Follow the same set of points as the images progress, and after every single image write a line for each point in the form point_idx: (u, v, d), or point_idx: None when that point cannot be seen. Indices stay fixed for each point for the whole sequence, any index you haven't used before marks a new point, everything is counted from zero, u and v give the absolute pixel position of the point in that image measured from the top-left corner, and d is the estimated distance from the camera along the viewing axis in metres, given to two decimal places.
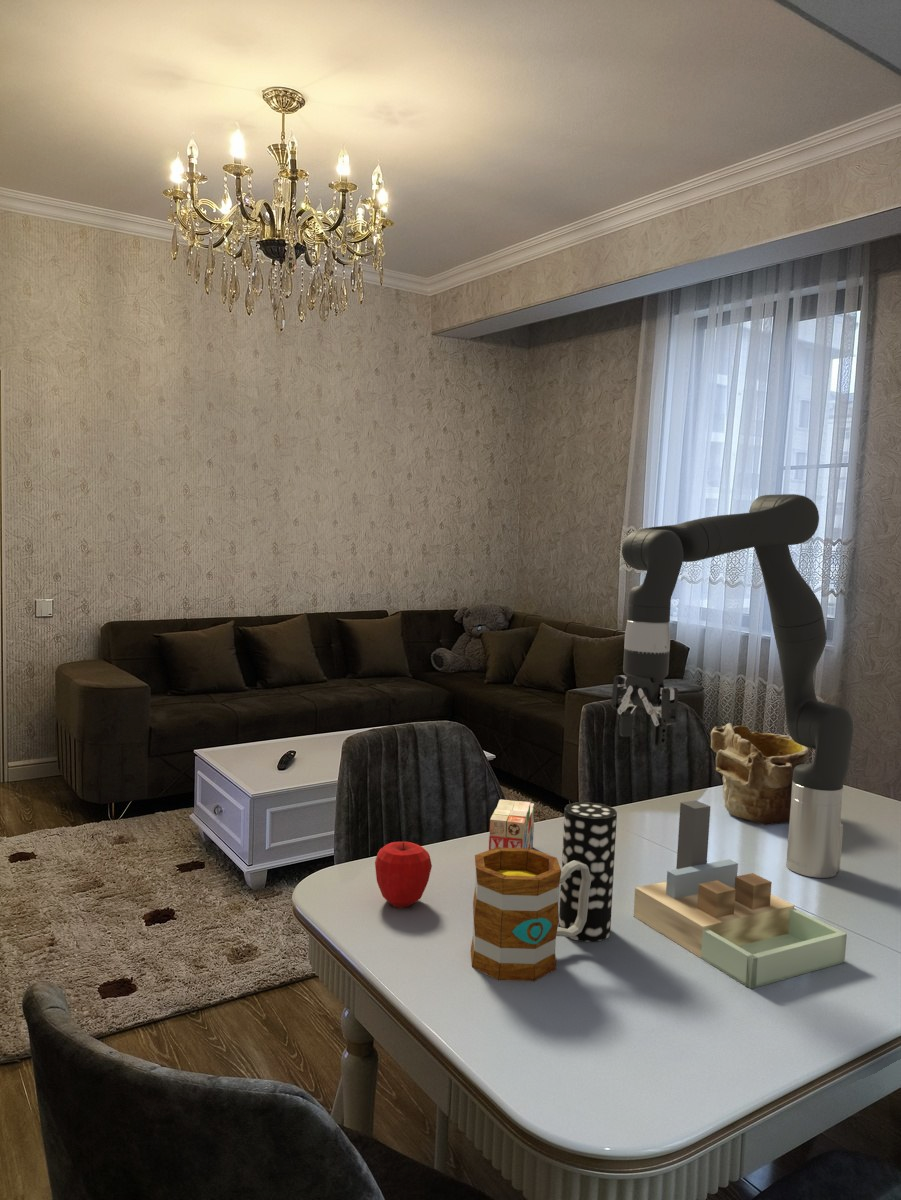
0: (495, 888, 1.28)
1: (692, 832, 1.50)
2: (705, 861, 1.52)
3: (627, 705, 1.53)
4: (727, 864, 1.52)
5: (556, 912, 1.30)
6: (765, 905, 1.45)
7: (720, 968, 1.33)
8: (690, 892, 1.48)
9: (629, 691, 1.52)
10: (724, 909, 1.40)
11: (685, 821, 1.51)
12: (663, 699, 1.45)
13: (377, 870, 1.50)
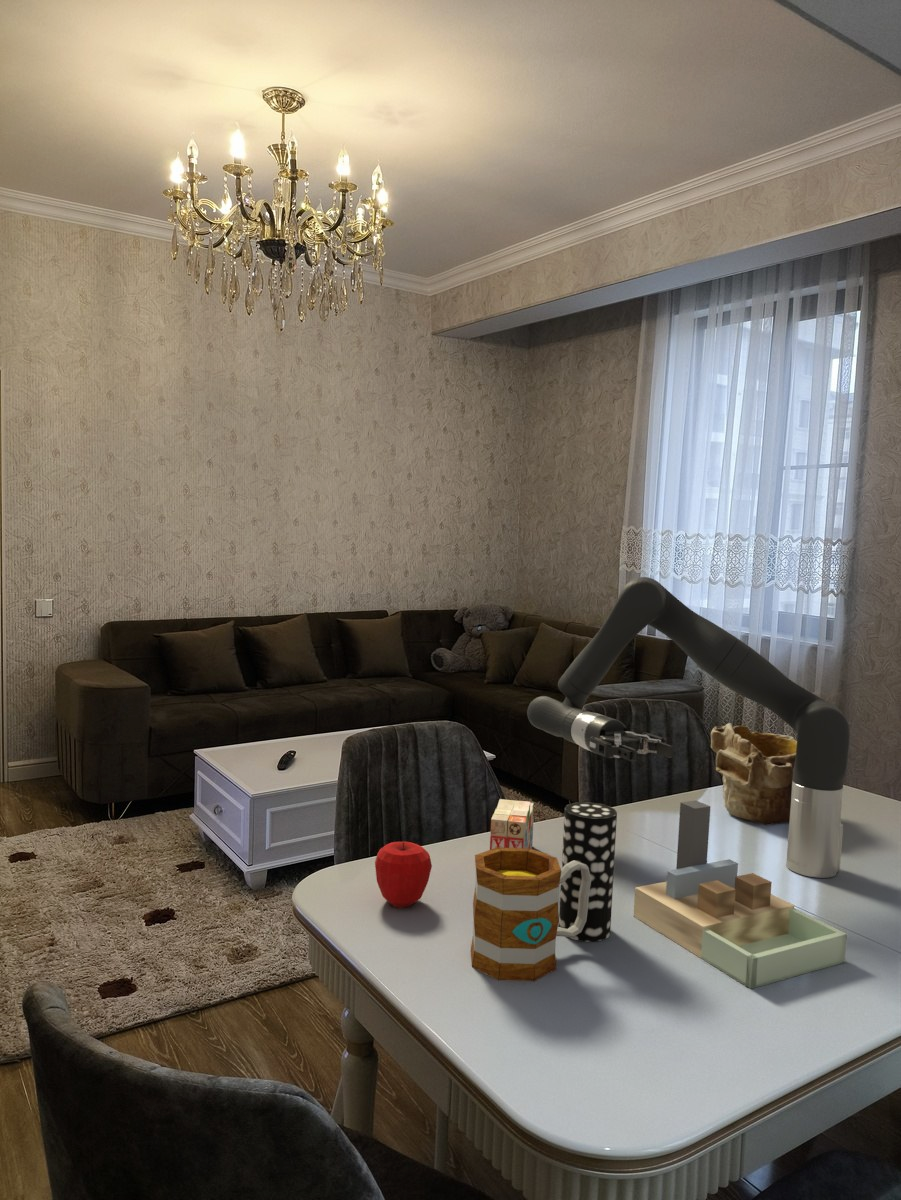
0: (495, 888, 1.28)
1: (692, 832, 1.50)
2: (705, 861, 1.52)
3: (645, 750, 1.67)
4: (727, 864, 1.52)
5: (556, 912, 1.30)
6: (765, 905, 1.45)
7: (720, 968, 1.33)
8: (690, 892, 1.48)
9: None
10: (724, 909, 1.40)
11: (685, 821, 1.51)
12: None
13: (377, 870, 1.50)
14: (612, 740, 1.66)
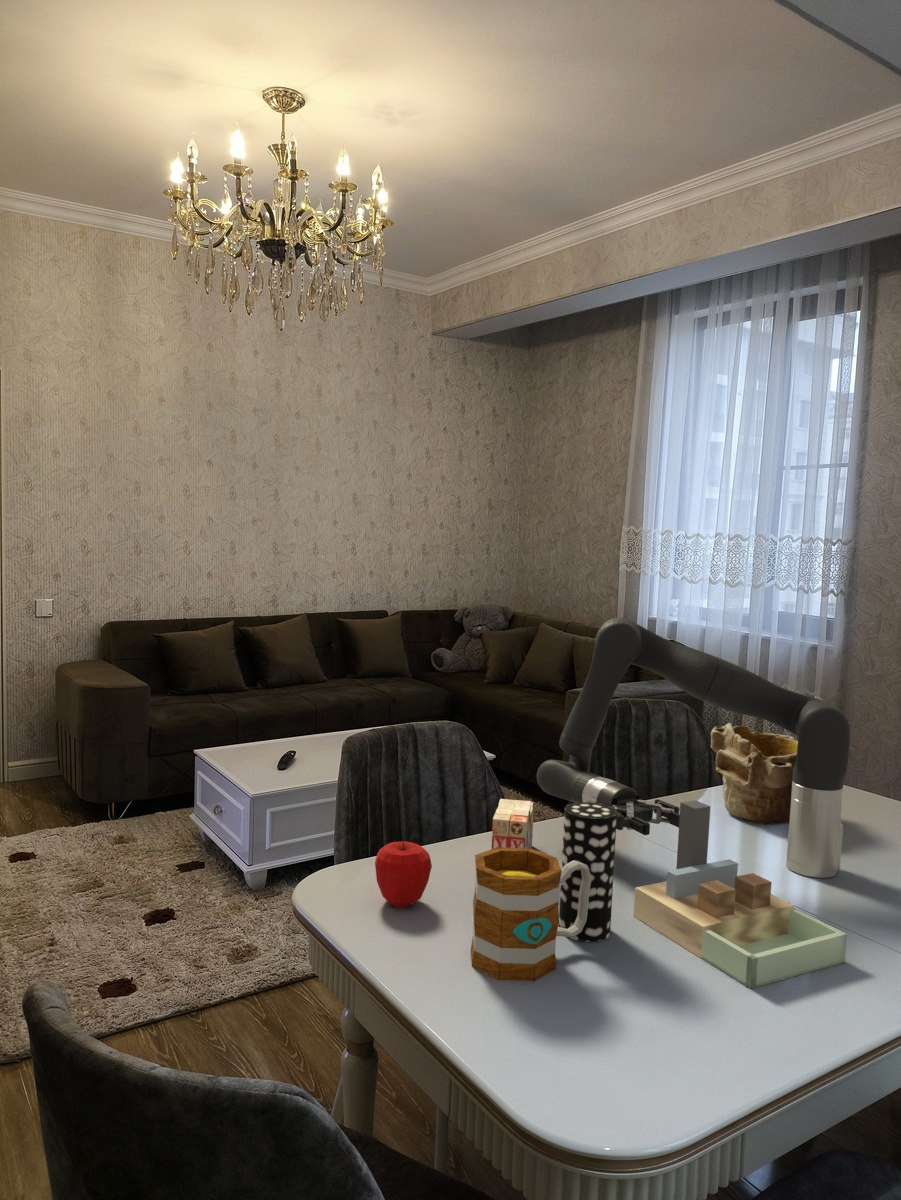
0: (495, 888, 1.28)
1: (692, 832, 1.50)
2: (705, 861, 1.52)
3: (658, 820, 1.64)
4: (727, 864, 1.52)
5: (556, 912, 1.30)
6: (765, 905, 1.45)
7: (720, 968, 1.33)
8: (690, 892, 1.48)
9: None
10: (724, 909, 1.40)
11: (685, 821, 1.51)
12: None
13: (377, 870, 1.50)
14: (624, 810, 1.63)
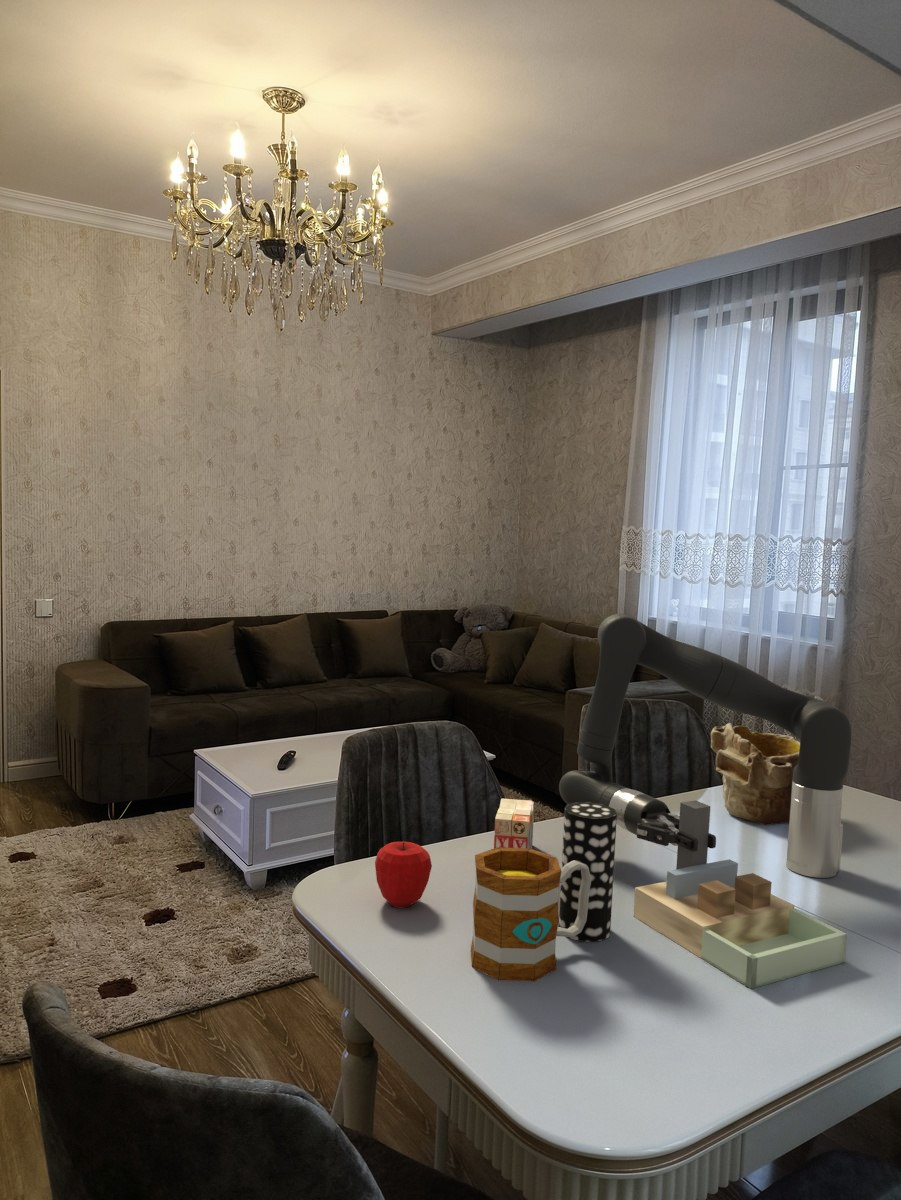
0: (495, 888, 1.28)
1: (692, 832, 1.50)
2: (705, 861, 1.52)
3: None
4: (727, 864, 1.52)
5: (556, 912, 1.30)
6: (765, 905, 1.45)
7: (720, 968, 1.33)
8: (690, 892, 1.48)
9: None
10: (724, 909, 1.40)
11: (685, 821, 1.51)
12: None
13: (377, 870, 1.50)
14: (660, 825, 1.56)
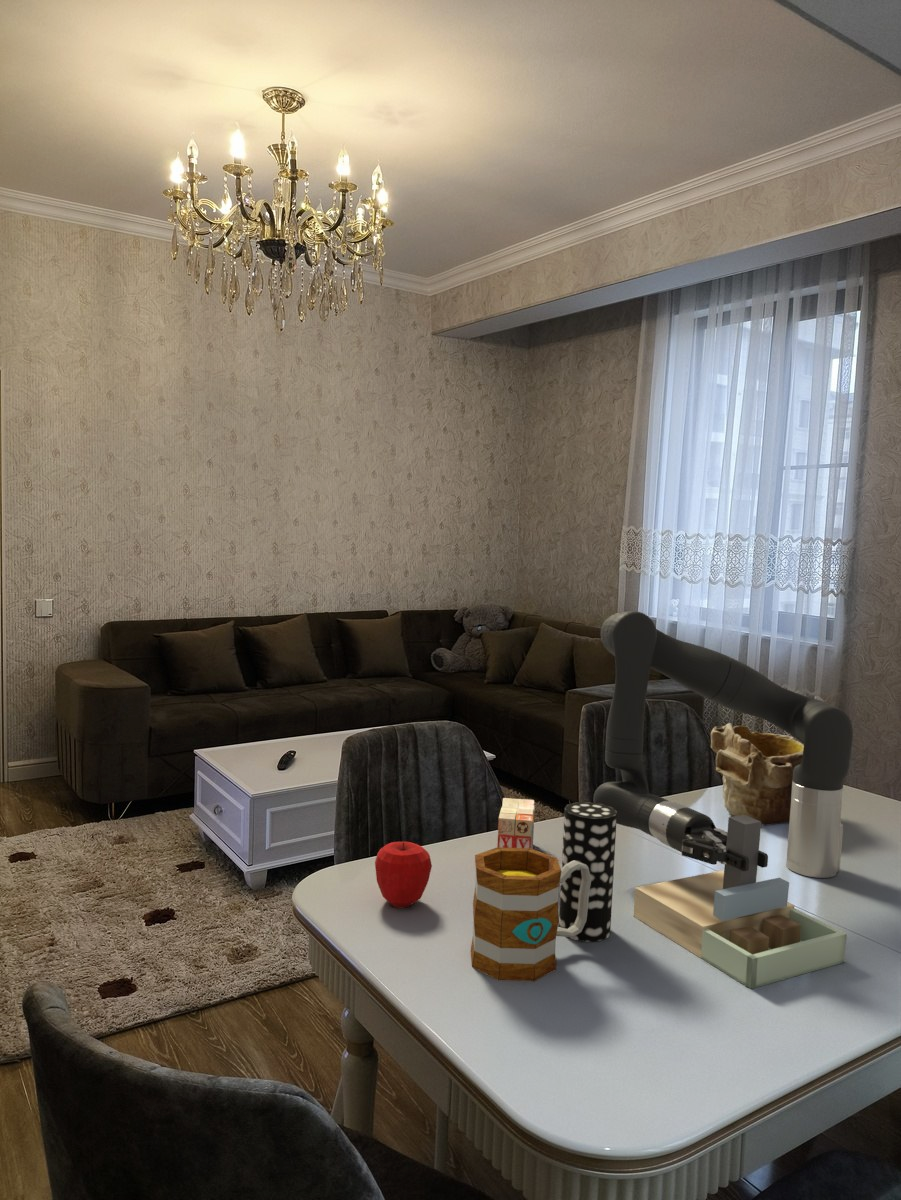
0: (495, 888, 1.28)
1: (741, 849, 1.40)
2: (754, 880, 1.42)
3: None
4: (778, 883, 1.42)
5: (556, 912, 1.30)
6: None
7: (720, 968, 1.33)
8: (739, 913, 1.38)
9: None
10: None
11: (733, 837, 1.41)
12: None
13: (377, 870, 1.50)
14: (707, 842, 1.46)
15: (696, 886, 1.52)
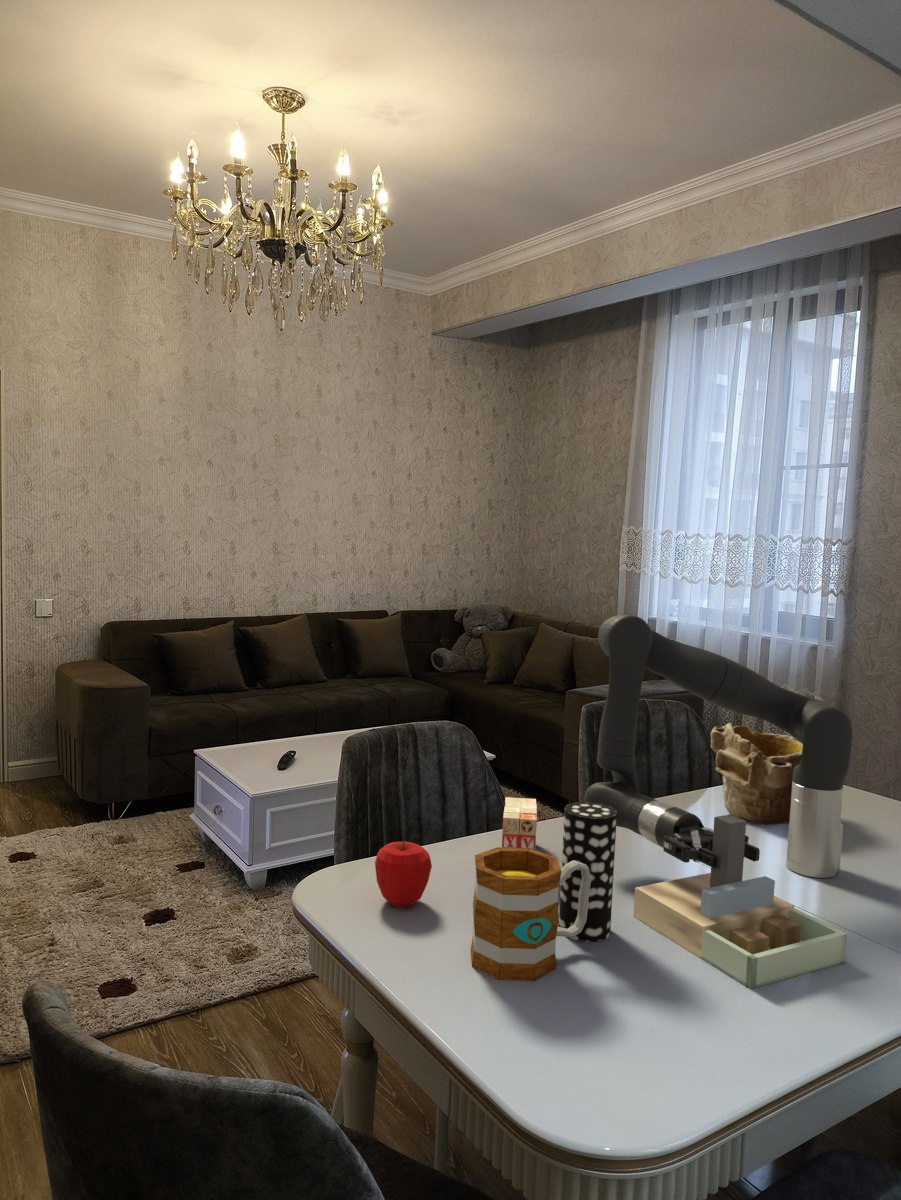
0: (495, 888, 1.28)
1: (727, 848, 1.43)
2: (740, 879, 1.44)
3: None
4: (763, 881, 1.45)
5: (556, 912, 1.30)
6: None
7: (720, 968, 1.33)
8: (726, 911, 1.41)
9: None
10: None
11: (719, 836, 1.44)
12: None
13: (377, 870, 1.50)
14: (689, 840, 1.48)
15: (696, 886, 1.52)
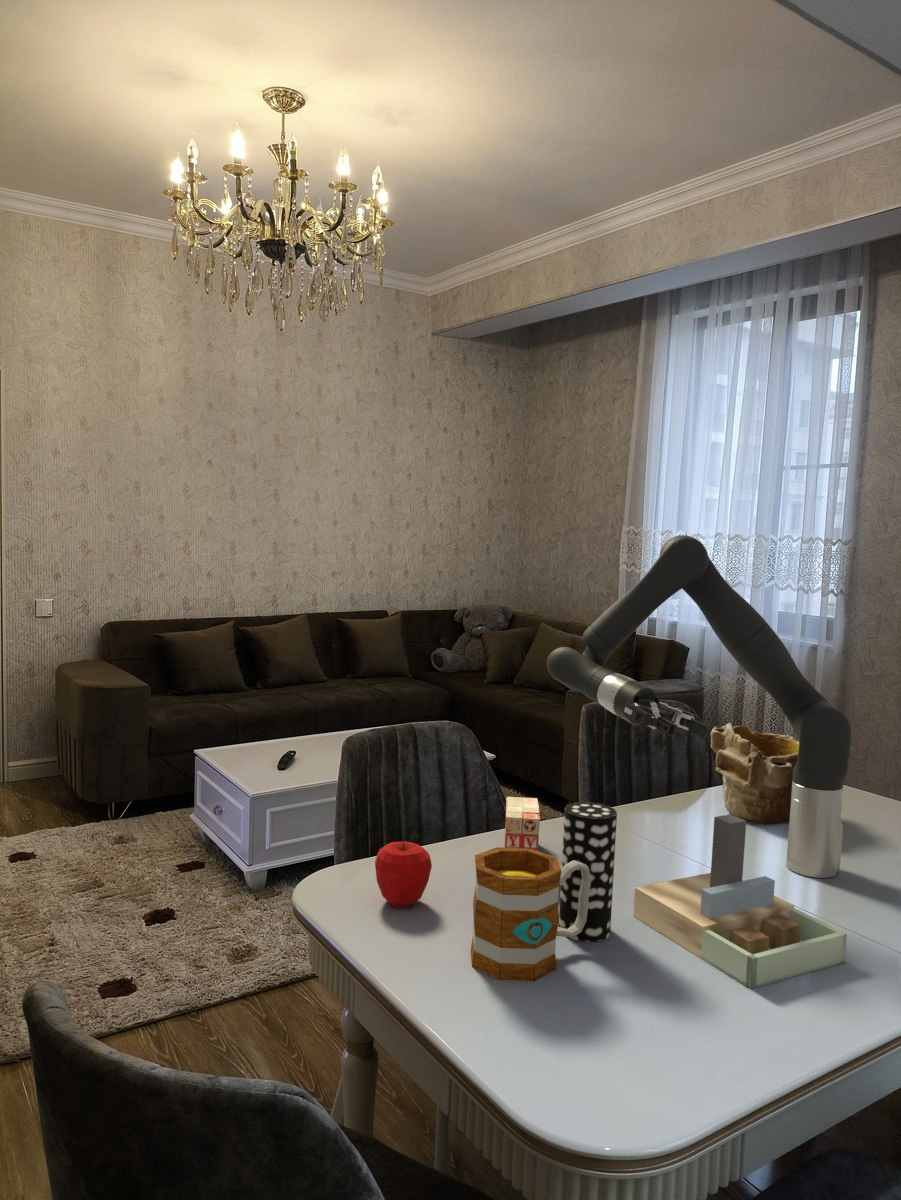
0: (495, 888, 1.28)
1: (727, 848, 1.43)
2: (740, 879, 1.44)
3: (676, 725, 1.62)
4: (763, 881, 1.45)
5: (556, 912, 1.30)
6: None
7: (720, 968, 1.33)
8: (726, 911, 1.41)
9: None
10: None
11: (719, 836, 1.44)
12: None
13: (377, 870, 1.50)
14: (648, 709, 1.60)
15: (696, 886, 1.52)
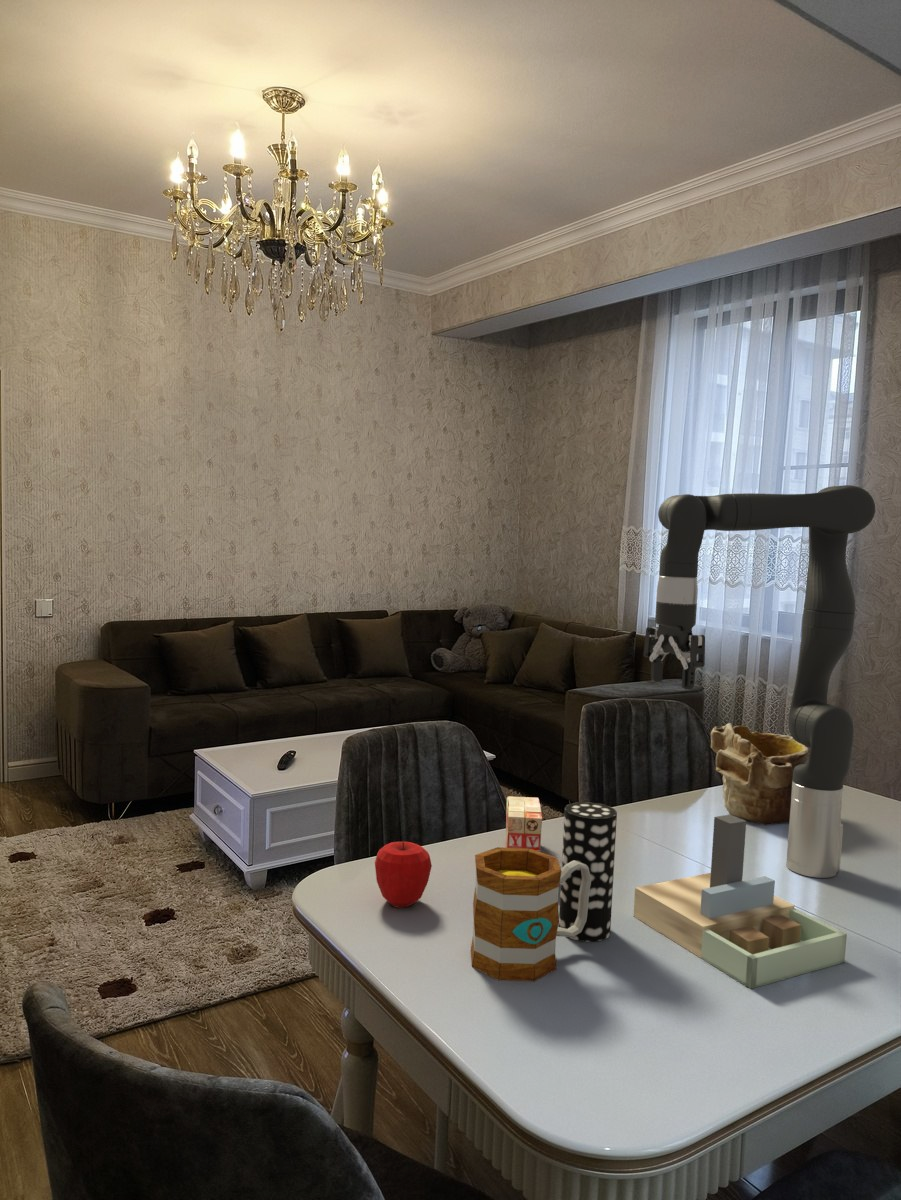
0: (495, 888, 1.28)
1: (727, 848, 1.43)
2: (740, 879, 1.44)
3: (658, 653, 1.72)
4: (763, 881, 1.45)
5: (556, 912, 1.30)
6: None
7: (720, 968, 1.33)
8: (726, 911, 1.41)
9: (660, 640, 1.70)
10: None
11: (719, 836, 1.44)
12: (692, 645, 1.63)
13: (377, 870, 1.50)
14: (689, 645, 1.67)
15: (696, 886, 1.52)
